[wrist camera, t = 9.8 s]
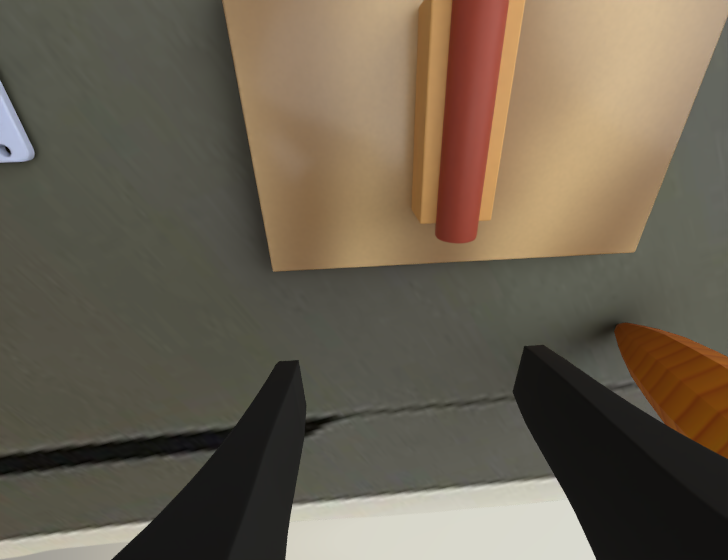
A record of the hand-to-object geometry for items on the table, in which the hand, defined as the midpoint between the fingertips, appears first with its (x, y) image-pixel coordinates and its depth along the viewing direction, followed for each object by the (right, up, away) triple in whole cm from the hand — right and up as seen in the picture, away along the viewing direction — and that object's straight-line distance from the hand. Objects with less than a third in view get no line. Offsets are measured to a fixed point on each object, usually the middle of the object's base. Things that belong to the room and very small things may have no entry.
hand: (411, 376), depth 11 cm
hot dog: (+2, +10, +4) cm, 11 cm away
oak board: (+3, +10, +5) cm, 12 cm away
